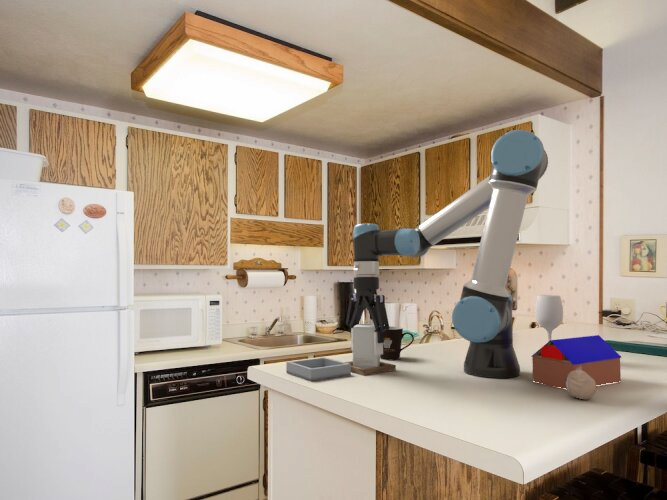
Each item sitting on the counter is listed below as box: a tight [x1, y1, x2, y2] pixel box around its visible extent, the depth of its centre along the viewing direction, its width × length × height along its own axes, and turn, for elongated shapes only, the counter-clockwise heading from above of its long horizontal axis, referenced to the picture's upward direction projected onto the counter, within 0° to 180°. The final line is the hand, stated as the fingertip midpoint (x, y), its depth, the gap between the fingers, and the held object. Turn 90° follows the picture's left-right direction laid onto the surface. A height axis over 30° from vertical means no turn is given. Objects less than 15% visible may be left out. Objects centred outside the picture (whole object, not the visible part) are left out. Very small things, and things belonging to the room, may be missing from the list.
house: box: [530, 334, 622, 389], centre depth 122 cm, size 12×20×12 cm, turn 119°
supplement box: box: [352, 323, 381, 369], centre depth 138 cm, size 7×7×13 cm
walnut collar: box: [344, 360, 397, 376], centre depth 138 cm, size 12×12×2 cm
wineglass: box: [534, 294, 564, 343], centre depth 151 cm, size 9×9×21 cm
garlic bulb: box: [565, 365, 597, 400], centre depth 106 cm, size 7×6×8 cm
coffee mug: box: [380, 325, 415, 361], centre depth 155 cm, size 12×9×10 cm
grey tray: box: [285, 356, 352, 382], centre depth 132 cm, size 13×13×3 cm
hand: (366, 352), depth 138 cm, fingers closed on supplement box, 10 cm apart
